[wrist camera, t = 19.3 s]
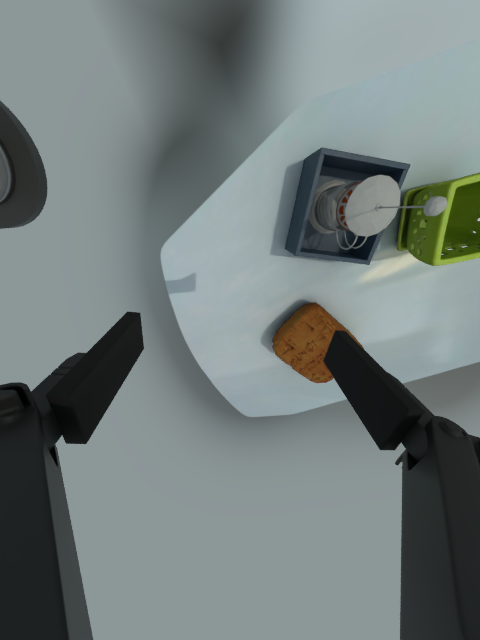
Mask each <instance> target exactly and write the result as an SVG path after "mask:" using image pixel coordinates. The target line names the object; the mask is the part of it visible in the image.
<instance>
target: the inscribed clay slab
mask: <svg viewBox="0 0 480 640" xmlns="http://www.w3.org/2000/svg"><path fill="white" fill-rule="evenodd" d="M335 330H341V331H346V332H347V333H348V334H349V335H350V336H351V337H352V338H353V339H354V340H355V341H356V342H357V343H358V344H359V345H360V346H361V347H362V345H361V344H360V343H359V342H358V340H357V339H356V338H355V337H354V336H353V335H352V334H351V333H350V332H349V331H348V330H347V329H346V328H345V327H344V326H343V325H341V324H340V323H339V322H338V321H337V320H336V319H335V318H333V317H332V316H331V315H330V314H329V313H328V312H327V311H326V310H325V309H324V308H322V307H321V306H320V305H319V304H317V303H308V304H306V305H304V306H302V307H301V308H299V309H298V310H297V311H296V312H295V313H294V314H293V315H292V316H291V317H290V318H289V320H287V321H285V323H284V324H283V325H282V327H280V328H279V330H278V331H277V332H276V334H275V336H274V338H273V349H274V351H275V354H276V355H277V356H278V357H279V358H280V359H282V360H283V361H284V362H285V363H286V364H289V365H291V366H292V368H293V369H294V370H295V371H297V372H298V373H299V374H301V375H302V376H304V377H306V378H307V379H309V380H310V381H312V382H315V383H323V382H324V383H326V382H328V381H330V380H332V379H333V378H334V377H333V376H332V374H331V373H330V371H329V370H328V368H327V366H326V365H325V363H324V362H323V360H324V357H325V355H326V352H327V350H328V347H329V345H330V342H331V340H332V337H333V335H334V332H335ZM362 348H363V347H362ZM363 349H364V348H363Z"/></svg>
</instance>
